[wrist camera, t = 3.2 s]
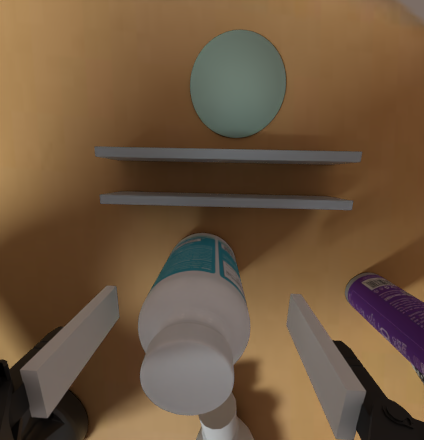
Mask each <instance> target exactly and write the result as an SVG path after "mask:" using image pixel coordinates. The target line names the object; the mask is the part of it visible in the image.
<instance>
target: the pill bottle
mask: <svg viewBox="0 0 424 440" xmlns="http://www.w3.org/2000/svg"><path fill="white" fill-rule="evenodd" d="M138 333H139V338H140V342H141V345H142V347H143V349H144V351H145V353H146V354H145V357H144V360H143V363H142V365H141V370H140V381H141V386H142V388H143V391H144V392H145V394H146V395H147V397H148V398H149V399H150V400H151V401H152V402H153V403H154V404H155V405H157V406H158V407H160V408H161V409H164V410H166V411H168V412H171V413H174V414H179V415H198V414H204V413H207V412H210V411H212V410H214V409H216V408H217V407H219V406H220V405H221V404H223V403H224V402H225V401H226V400H227V398H228V397H229V395H230V394H231V391H232V389H233V385H234V366H233V365H234V364H235V363H236V362H237V361H238V359H239V358H240V357H241V355H242V354H243V352H244V350H245V348H246V346H247V343H248V340H249V336H250V317H249V313H248V308H247V304H246V300H245V296H244V291H243V287H242V283H241V279H240V275H239V271H238V267H237V263H236V259H235V255H234V253H233V251H232V249H231V247H230V246H229V245H228V244H227V243H226V242H225V241H224V240H223V239H221V238H220V237H218V236H216V235H213V234H208V233H196V234H192V235H189V236H187V237H185V238H184V239H182V240H181V241H180V242H179V243H178V244H177V245H176V246H175V248H174V249H173V251H172V253H171V254H170V256H169V258H168V260H167V262H166V263H165V265H164V267H163V269H162V271H161V272H160V274H159V276H158V278H157V280H156V281H155V283H154V285H153V287H152V288H151V290H150V292H149V294H148V295H147V297H146V299H145V301H144V303H143V305H142V308H141V311H140V314H139V319H138Z"/></svg>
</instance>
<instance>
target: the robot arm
mask: <svg viewBox="0 0 424 440" xmlns="http://www.w3.org/2000/svg"><path fill="white" fill-rule="evenodd" d="M118 319H119V307H118V297H117V287H116V286H106V287H105V288H104V289H103V290H102V291H101V292H100V293H98V294H97V295H96V296H95V297H94V298H93V299H92V300H91V301H90V302H89V303H88V304H87V305H86V306H85V307H84V308H83V309H82V310H81V311H80V312H79V313H78V314H77V315H76V316H75V317H74V318H73V319H72V320H71V321H70V322H69V323H68V324H67V325H66V326H64V327H58V328H56V329H55V330H53V331H52V332H50V333H48V334H47V335H46V336H45V337H44V338H43V339H42V340H41V341H40V342H39V343H38V344H37V345H35V346H34V347H33V349H31V350H30V351H29V352H28V353H27V354H26V355H25V356H24V357H22V358H21V359H20V360H19V361H18V362H17V363H16V364H15V365H14V366H13V367H12V368H11V369H9V367H8V364H7V361H5V360H0V440H84V438H85V436H86V433H87V430H88V418H87V414H86V411H85V409H84V407H83V406H82V404H81V403H80V401H79V400H78V399H77V398H76V397H75V396H74V395H73V394H72V393H71V392H70V391H69V390H68V389H69V387H70V386H71V385H72V383H73V382H74V380H75V379H76V378H77V376H78V375H79V373H80V372H81V371H82V369H83V368H84V366H85V365H86V363H87V362H88V361H89V359H90V358H91V356H92V355H93V354H94V352H95V351H96V349H97V348H98V347H99V345H100V344H101V342H102V341H103V340H104V338H105V337H106V335H107V334H108V333H109V331H110V330H111V328H112V327H113V326H114V324H115V323H116V321H117V320H118ZM286 326H287V328H288V330H289V332H290V335H291V337H292V339H293V342H294V344H295V346H296V349H297V351H298V353H299V355H300V358H301V360H302V362H303V365H304V367H305V369H306V371H307V374H308V376H309V378H310V381H311V383H312V385H313V388H314V390H315V392H316V394H317V397H318V399H319V401H320V404H321V406H322V408H323V410H324V413H325V415H326V417H327V420H328V422H329V424H330V427H331V429H332V431H333V433H334V436H335V438H336V439H345V440H354V437H355V433H356V430H357V432H358V434H359V436H360V438H361V440H424V422H422V421H419V420H417V419H414V418H412V417H411V415H410V414H409V413H408V412H407V411H406V410H405V409H404V408H403V407H401V406H400V405H398V404H397V403H396V402H394V401H392V400H389V399H388V398H387V397H386V396H385V394H384V393H383V392H382V390H381V389H380V388H379V386H378V385H377V384H376V382H375V381H374V380H373V378H372V377H371V376H370V374H369V373H368V372H367V370H366V369H365V368H364V367H363V365H362V364H361V362H360V361H359V360H358V359H357V357H356V355H355V354H354V353H353V351H352V350H351V349H350V348H349V347H348V346H347V345H345V344H344V343H343V342H342V341H334V340H331V338H330V337H329V335H328V334H327V332H326V331H325V329H324V328H323V326H322V325H321V323H320V322H319V320H318V319H317V317H316V316H315V314H314V313H313V311H312V310H311V308H310V307H309V305H308V304H307V302H306V301H305V299H304V298H303V296H302V295H301V294H290V302H289V309H288V317H287V325H286Z"/></svg>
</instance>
